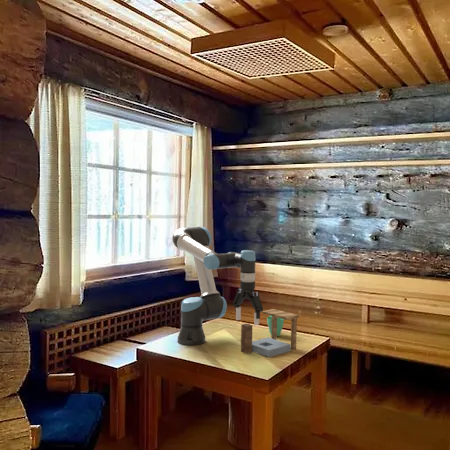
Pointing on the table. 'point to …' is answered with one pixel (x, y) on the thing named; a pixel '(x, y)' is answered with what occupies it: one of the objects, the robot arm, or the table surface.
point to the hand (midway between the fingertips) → (247, 322)
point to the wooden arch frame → (286, 316)
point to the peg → (246, 338)
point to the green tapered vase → (279, 325)
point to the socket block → (270, 347)
